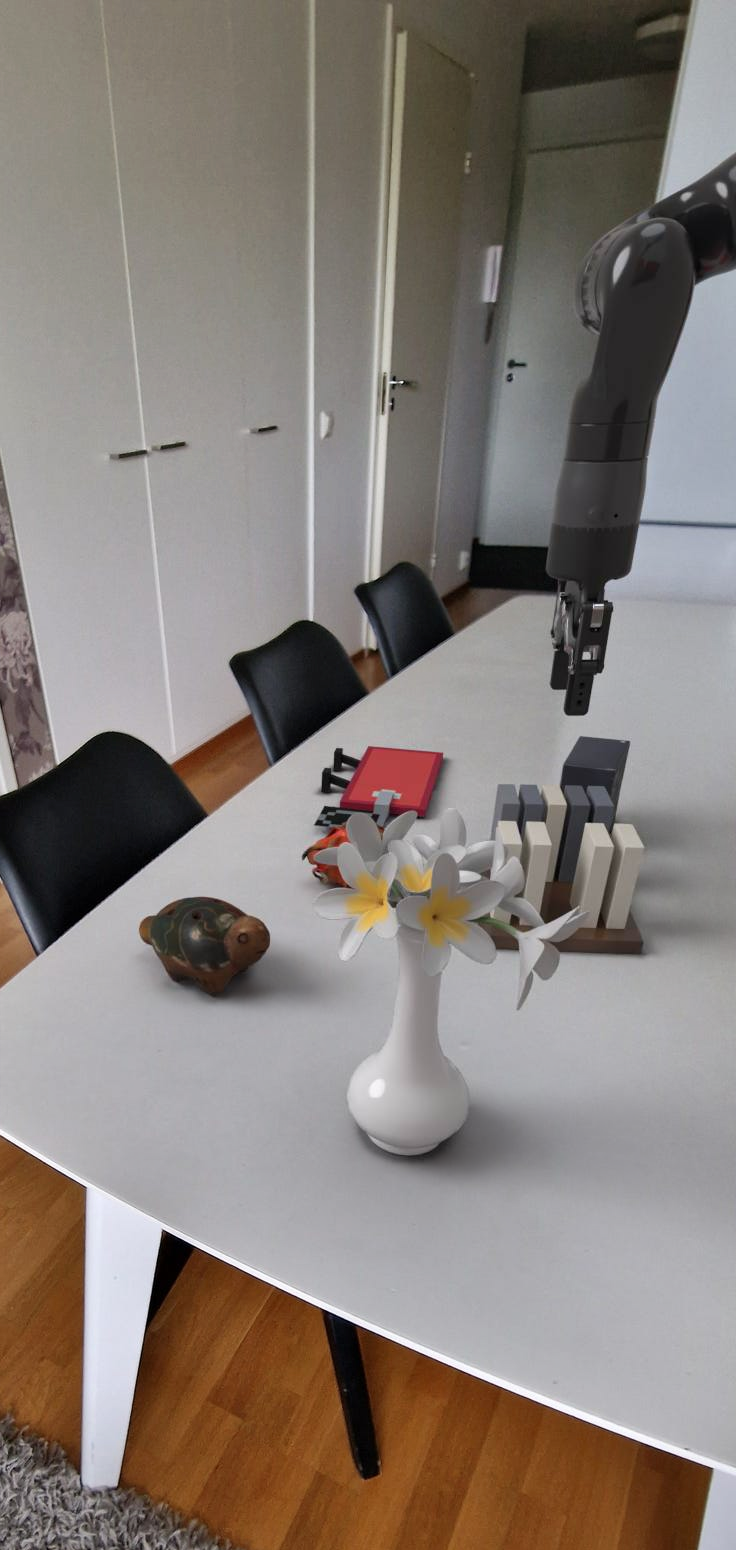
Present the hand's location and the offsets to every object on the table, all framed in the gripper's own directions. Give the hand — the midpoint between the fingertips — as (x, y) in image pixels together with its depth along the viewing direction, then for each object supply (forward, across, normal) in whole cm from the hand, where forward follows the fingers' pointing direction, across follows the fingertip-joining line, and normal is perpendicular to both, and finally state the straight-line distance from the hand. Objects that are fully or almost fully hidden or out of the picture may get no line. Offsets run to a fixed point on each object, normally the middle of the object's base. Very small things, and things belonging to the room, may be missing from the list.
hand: (567, 701), depth 92 cm
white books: (+19, -9, 0) cm, 21 cm away
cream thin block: (+19, +1, 0) cm, 19 cm away
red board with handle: (+21, +27, +18) cm, 38 cm away
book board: (+21, -4, 0) cm, 21 cm away
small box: (+21, +15, -7) cm, 27 cm away
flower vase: (+20, -42, +15) cm, 49 cm away
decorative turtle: (+20, -20, +35) cm, 45 cm away
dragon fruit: (+20, -2, +21) cm, 29 cm away
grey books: (+19, +1, 0) cm, 19 cm away
